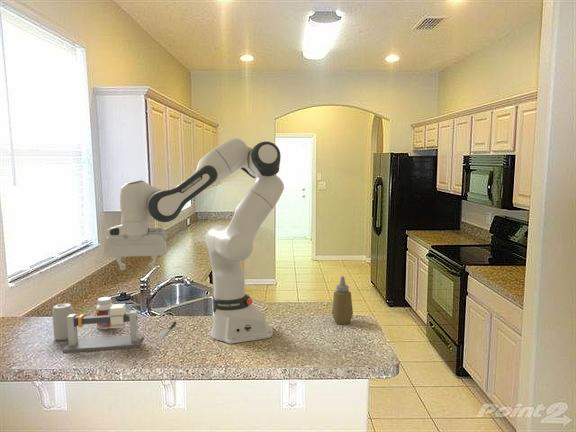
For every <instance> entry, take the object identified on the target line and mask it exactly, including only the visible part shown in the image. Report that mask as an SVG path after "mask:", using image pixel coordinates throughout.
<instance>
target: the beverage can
mask: <svg viewBox="0 0 576 432" xmlns="http://www.w3.org/2000/svg"><path fill="white" fill-rule="evenodd" d="M52 307H53V308H52V310H51V311H52V312H51V313H52V314H51V315H52V327H53V338H54V339H55V340H57V341H60V340H62V341H67V340H66V339H68V326H67V317H68V316H69V315H70V314H74V313H73V312H74V311H73V306H72V304H71V303H66V302H65V303H58V304H55V305H54V306H52Z"/></svg>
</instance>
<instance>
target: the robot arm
mask: <svg viewBox="0 0 576 432" xmlns="http://www.w3.org/2000/svg"><path fill="white" fill-rule="evenodd" d="M280 166H281V151H280V149H279V147H278V145H276V144H275V143H273V142H272V141H261V142H259V143H256V145H254V146H253V147H249V146H248V145H247V143H245V142H244V141H243V140H242V139H240V138H237V137H236V138H235V137H233V138H231V139H229V140H227V141H224V142H222V143H221V144H218V145H217V146H215V147H213V148H212V149H211V150H209V151H208V152H206V154H204V156H202V157H201V158H200V160H198V163H197V166H196V169H195V171H194V172H193V173H192V174H191V175H190V176H189V177H187V178H186V179H185V180H183V181H182V182H180V183H179V184H177V185H176V186H175V187H173V188H171V189H167V190H164V189H161V188H157V187H155V186H153V185H151V184H149V183H147V182H146V181H145V180H142V179H141V180H135V181H134V180H133V181H128V182H126V183H124V184H123V185H122V186H121V188H120V194H119V197H120V198H119V205H120V206H119V207H120V211H121V218H120V224H117V225H115V226H112V227H110V228H108V229H107V230H106V235H107V236H106V238H105V240H104V243H103V244H104V245H103V246H104V247H103V254H104V256H105V257H107V258H115V261H116V262H117V263H118V265H119V270H121V271H122V270H126V263H123V262H122V260H121V259H122V258H124V257H128V258H129V257H150V258H151V262H149V263H147V265H148V266H147V268H148V269H149V270H153V269H154V268H155V262H156V260H157V257H159V256H160V257H162V256H165V255H166V254H167V252H168V246H167V239H168V233H167V231H166V230H165V229H163V228H161V227H160V228H153V227H152V228H151V227H150V225H149V217H151V218H153V220H156V221H157V222H160V223H169V222H172V221H174V220H176V219H177V218H178V216H179V215H180V213H181V212H182V210H183V209H184V206H185V205H187V203H189V202H190V201H191V200H193V199H194V198H195V197H196V196H198V195H199V194H201V193H202V192H203V191H204V190H206V189H207V188H209V187H211V186H212V185H215V184H218V183H219V182H221V181H222V180H224V179H226V178H228V177H229V176H231V175H232V174H233V173H235V172H237V170H239V169H240V170H241V171H243V172H244V173H245V174H247V175H248V176H249V177H250V178H253V179H255V181H254V182H253V184H252V186H251V187H250V188H249V189H248V191H247V192H246V194H244V195H243V196H242V198H241V200H240V201H239V202H238V204H237V205H236V206H235V209H234V214H233V216H232V219H231V220H230V222H229V224H228V225H216V226H212V227H211V228H210V229H208V230H207V232H206V234H205V236H204V238H205V239H204V242H205V245H206V248H207V251H208V257H209V262H210V266H211V270H212V271H211V272H212V281H213V283H212V284H213V285H212V286H213V296H212V312H213V320H212V326H211V332H210V337H211V338H212V339H215V340H217V341H221V342H225V343H227V344H229V345H231V344H238V343H244V342H251V341H258V340H264V339H265V340H266V339H270V338H271V337H272V336H273V334H274V330H273V326H272V325H271V324H270V323H269V322H267V319H266V316H265V314H264V313H263V312H262V311H261V310H260V309H258V308H257V307H256V306H254V305H252V304H253V299H252V298H251V296H250V295H249V294H246V293H245V292H246V291H245V290H246V289H245V272H244V270H243V268H242V265H241V262H242V261H245V260H246V259H248V258H249V257H250V256H251V254H252V253H253V249H254V240H255V237H256V235H257V233H258V232H259V230H260V227H261V225H262V224H263V223H264V221H265V220H266V219H267V217H268V216H269V214H270V213H271V212H272V211H273V209H274V208H275V206H276V205H277V203H278V201H279V200H280V198H281V196H282V194H283V192H284V190H285V185H284V182H283V180H282V179H281V178H280V177H279V176H278V175H277V174H279V172H280Z"/></svg>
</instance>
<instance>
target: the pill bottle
mask: <svg viewBox="0 0 576 432" xmlns="http://www.w3.org/2000/svg"><path fill="white" fill-rule="evenodd" d="M97 303H98V304H97V305H96V307H95V308H96V309H95V310H96V316H103V315H110V308H111V307H112V305H113V304H114V303H112V297H111V296H103V297H99V298H98V299H97ZM96 327H97V329H99V330H108V329H112V328H111V323H97V324H96Z"/></svg>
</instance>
